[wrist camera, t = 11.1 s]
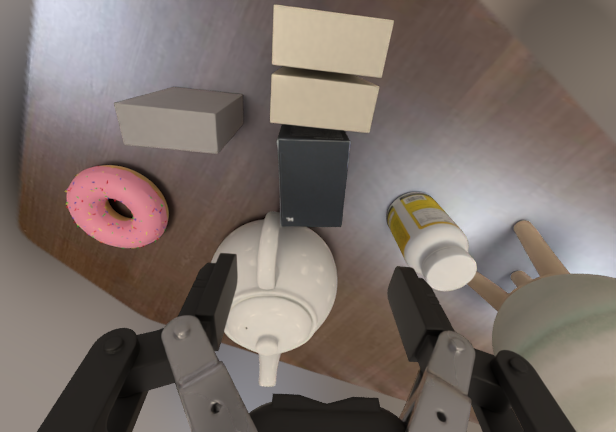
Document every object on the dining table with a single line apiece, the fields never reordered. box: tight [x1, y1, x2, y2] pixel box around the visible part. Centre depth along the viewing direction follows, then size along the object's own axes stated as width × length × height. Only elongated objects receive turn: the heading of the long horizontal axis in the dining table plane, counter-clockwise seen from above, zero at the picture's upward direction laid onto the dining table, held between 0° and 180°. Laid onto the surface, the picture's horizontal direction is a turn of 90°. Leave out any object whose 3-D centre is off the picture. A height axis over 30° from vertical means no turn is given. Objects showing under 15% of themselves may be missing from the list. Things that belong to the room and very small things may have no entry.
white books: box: [270, 5, 394, 133], centre depth 22 cm, size 6×7×11 cm
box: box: [277, 124, 351, 227], centre depth 26 cm, size 8×6×11 cm
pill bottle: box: [387, 192, 477, 291], centre depth 30 cm, size 6×6×12 cm
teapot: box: [211, 211, 337, 387], centre depth 33 cm, size 19×18×14 cm
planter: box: [467, 220, 616, 432], centre depth 30 cm, size 16×16×22 cm
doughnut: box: [65, 165, 169, 249], centre depth 32 cm, size 11×11×4 cm
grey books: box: [114, 87, 243, 154], centre depth 20 cm, size 16×7×10 cm, turn 174°
